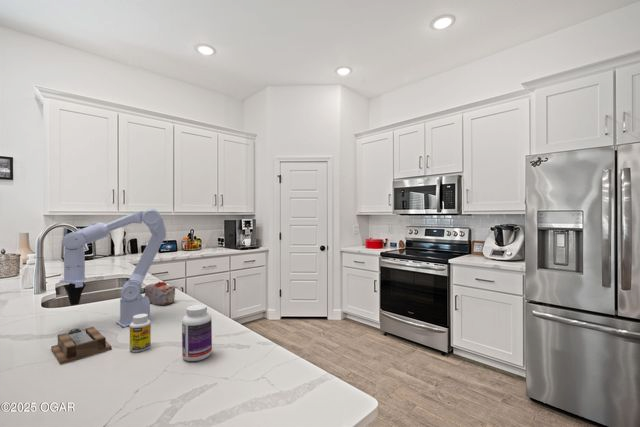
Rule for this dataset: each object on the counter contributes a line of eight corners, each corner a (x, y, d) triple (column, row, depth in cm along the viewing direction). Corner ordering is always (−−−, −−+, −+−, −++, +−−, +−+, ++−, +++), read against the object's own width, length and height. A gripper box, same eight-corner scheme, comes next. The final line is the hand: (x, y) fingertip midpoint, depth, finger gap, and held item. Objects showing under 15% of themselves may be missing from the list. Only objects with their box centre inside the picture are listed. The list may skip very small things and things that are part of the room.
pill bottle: (217, 352, 90) (217, 304, 90) (198, 365, 83) (198, 312, 83) (195, 348, 93) (195, 301, 93) (175, 360, 85) (175, 309, 85)
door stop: (66, 341, 96) (66, 330, 96) (82, 337, 99) (82, 326, 99) (77, 356, 87) (77, 343, 87) (94, 351, 90) (94, 339, 90)
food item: (178, 302, 140) (178, 281, 140) (164, 307, 133) (163, 285, 133) (156, 299, 145) (156, 279, 145) (141, 304, 138) (141, 282, 138)
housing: (51, 349, 92) (51, 336, 92) (98, 337, 101) (98, 325, 101) (60, 364, 83) (60, 350, 83) (111, 349, 92) (111, 336, 92)
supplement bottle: (129, 354, 89) (129, 320, 89) (129, 347, 93) (129, 314, 93) (151, 349, 92) (151, 316, 92) (150, 343, 96) (150, 311, 96)
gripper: (55, 265, 108) (55, 302, 108) (64, 270, 99) (64, 311, 99) (80, 262, 113) (80, 298, 113) (90, 267, 104) (90, 306, 104)
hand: (74, 304), depth 106 cm, fingers closed
